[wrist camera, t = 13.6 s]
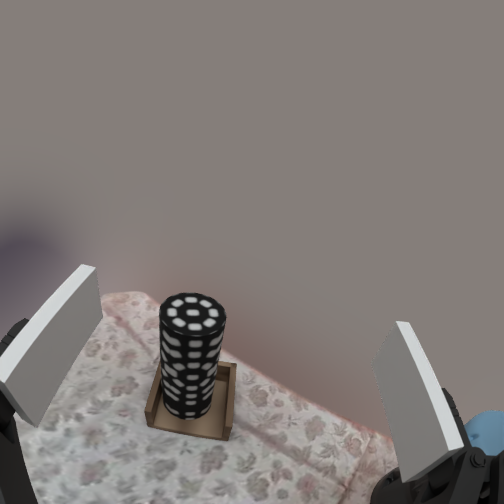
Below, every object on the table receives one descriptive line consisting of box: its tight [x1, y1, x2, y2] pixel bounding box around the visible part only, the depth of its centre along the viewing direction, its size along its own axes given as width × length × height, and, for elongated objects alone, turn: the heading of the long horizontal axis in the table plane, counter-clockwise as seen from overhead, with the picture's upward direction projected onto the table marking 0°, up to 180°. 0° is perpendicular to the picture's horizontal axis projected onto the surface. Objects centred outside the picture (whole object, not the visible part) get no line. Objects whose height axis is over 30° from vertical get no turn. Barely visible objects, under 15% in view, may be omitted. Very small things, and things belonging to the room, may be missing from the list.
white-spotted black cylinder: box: [159, 293, 226, 420], centre depth 39 cm, size 8×8×20 cm
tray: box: [145, 361, 237, 441], centre depth 43 cm, size 13×13×6 cm
